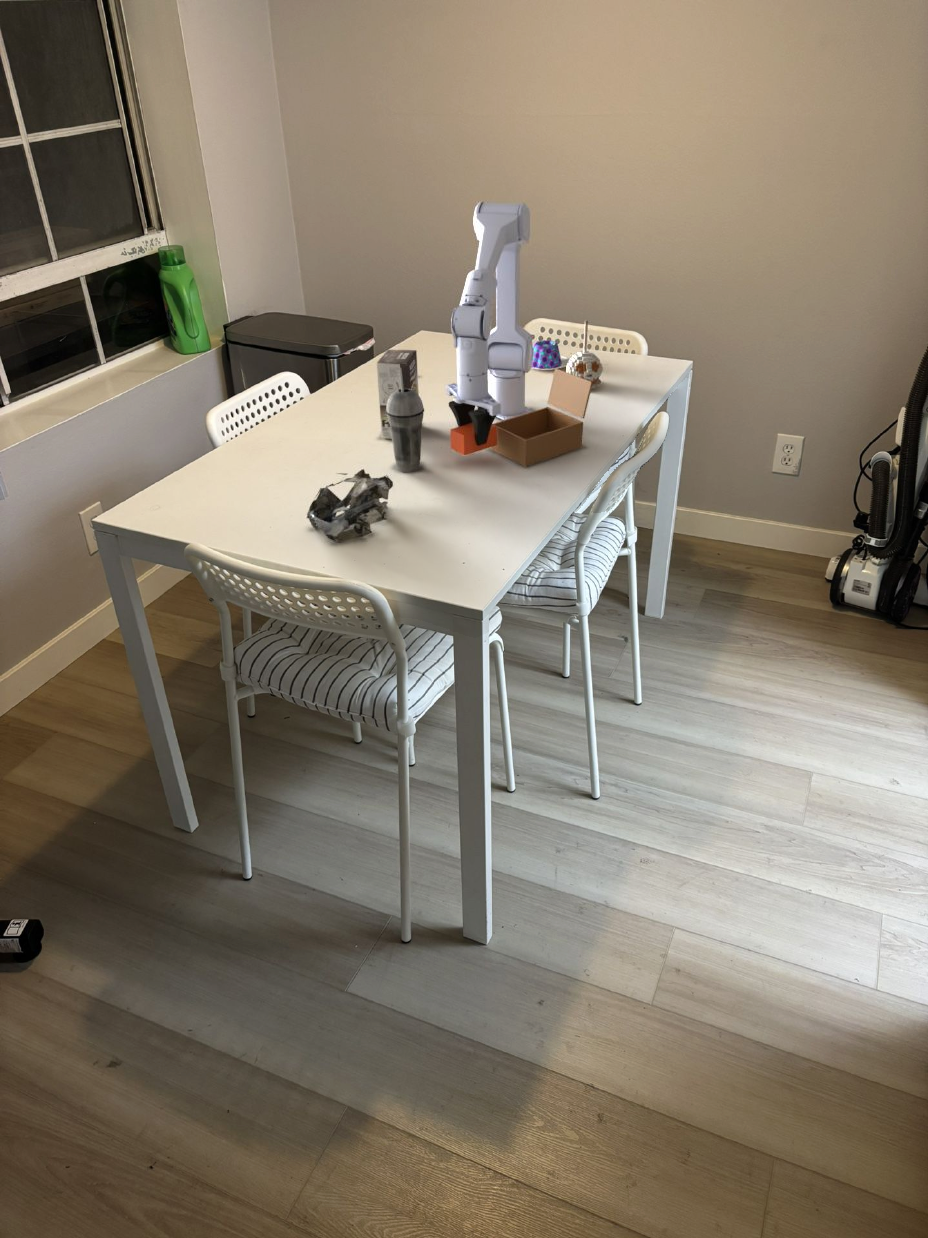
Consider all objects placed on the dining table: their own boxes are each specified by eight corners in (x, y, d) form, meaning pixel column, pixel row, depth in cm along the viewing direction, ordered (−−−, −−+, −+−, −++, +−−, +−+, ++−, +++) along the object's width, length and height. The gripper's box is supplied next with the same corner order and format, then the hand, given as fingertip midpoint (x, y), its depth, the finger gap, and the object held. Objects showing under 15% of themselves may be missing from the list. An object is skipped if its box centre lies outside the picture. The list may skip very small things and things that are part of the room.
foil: (298, 497, 167) (365, 447, 165) (336, 541, 173) (403, 493, 170) (298, 525, 157) (370, 472, 155) (339, 570, 163) (410, 520, 160)
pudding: (576, 369, 230) (577, 348, 228) (528, 374, 228) (528, 352, 226) (561, 354, 240) (562, 333, 237) (515, 359, 238) (515, 338, 235)
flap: (547, 403, 195) (548, 403, 196) (582, 418, 188) (584, 418, 188) (555, 368, 192) (556, 368, 193) (591, 381, 185) (593, 382, 185)
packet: (450, 448, 185) (450, 429, 183) (483, 438, 189) (483, 419, 186) (464, 455, 182) (463, 436, 180) (497, 445, 186) (497, 425, 183)
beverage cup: (432, 461, 187) (428, 361, 176) (418, 476, 181) (413, 374, 170) (398, 457, 189) (391, 358, 178) (383, 472, 184) (376, 370, 172)
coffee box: (411, 440, 196) (406, 363, 187) (380, 438, 197) (375, 362, 189) (421, 423, 204) (417, 349, 195) (392, 422, 205) (387, 347, 196)
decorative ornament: (572, 392, 217) (575, 326, 209) (562, 381, 224) (564, 317, 216) (604, 389, 219) (608, 323, 211) (593, 378, 225) (597, 314, 217)
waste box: (546, 431, 199) (547, 406, 196) (582, 447, 191) (583, 421, 188) (491, 449, 192) (490, 424, 189) (525, 466, 184) (525, 440, 181)
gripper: (432, 366, 180) (435, 433, 187) (479, 386, 170) (480, 457, 178) (462, 358, 183) (464, 424, 191) (509, 377, 174) (509, 447, 181)
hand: (473, 439), depth 184 cm, fingers closed on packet, 4 cm apart
